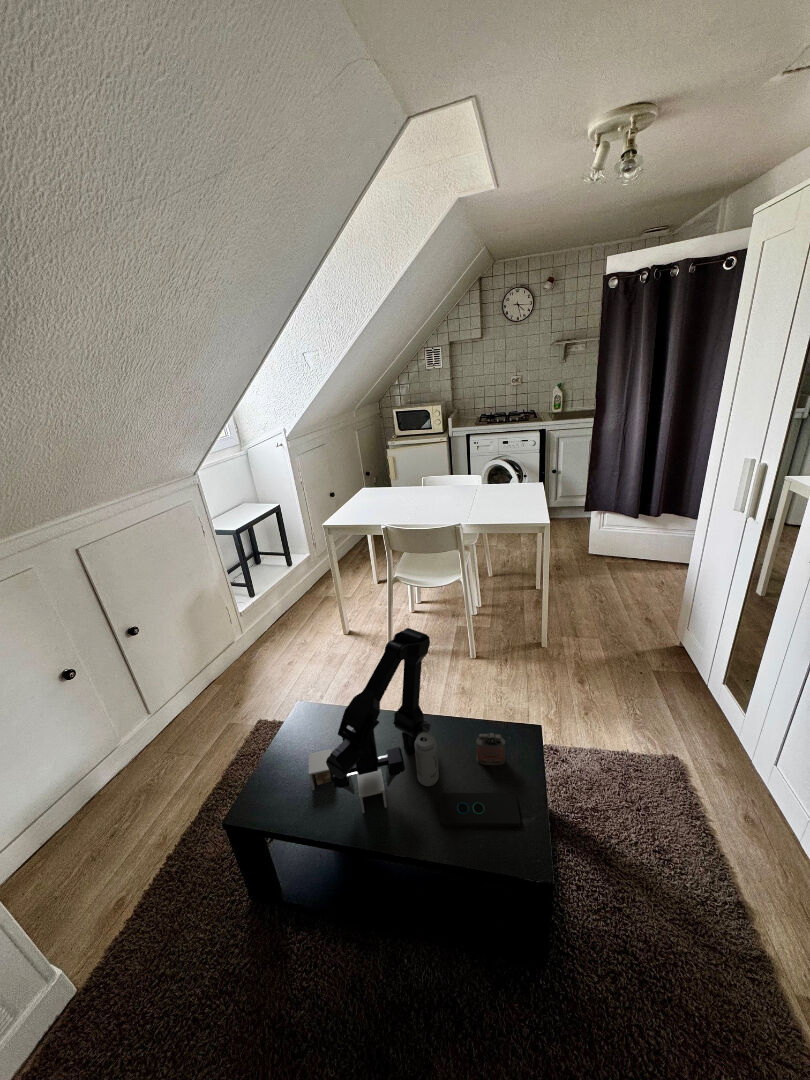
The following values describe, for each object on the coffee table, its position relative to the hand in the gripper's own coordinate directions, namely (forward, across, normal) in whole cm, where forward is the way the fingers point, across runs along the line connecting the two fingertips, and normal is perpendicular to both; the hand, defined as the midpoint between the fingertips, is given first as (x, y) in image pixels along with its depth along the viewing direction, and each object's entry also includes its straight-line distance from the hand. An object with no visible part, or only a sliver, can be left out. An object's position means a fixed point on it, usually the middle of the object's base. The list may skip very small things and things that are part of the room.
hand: (371, 788), depth 112 cm
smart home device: (+5, -27, +10) cm, 29 cm away
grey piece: (+4, +13, -10) cm, 17 cm away
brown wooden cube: (+4, +13, -10) cm, 17 cm away
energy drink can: (+4, -16, -2) cm, 17 cm away
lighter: (+4, -35, -3) cm, 35 cm away
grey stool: (+4, 0, 0) cm, 4 cm away
